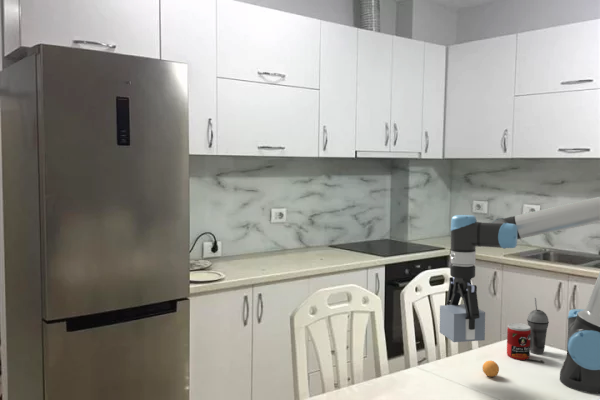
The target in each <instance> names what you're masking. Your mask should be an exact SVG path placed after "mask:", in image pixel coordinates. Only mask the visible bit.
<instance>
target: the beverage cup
mask: <svg viewBox="0 0 600 400" xmlns="http://www.w3.org/2000/svg"><path fill="white" fill-rule="evenodd" d="M537 305H538V304H537V298H536V297H534V307H535V308H534V309H533V310H531V311H530V312H529V314H528V315H527V319H526V321H527V325H528V326H530V327H531V335H530V354H534V355H544V352H545V347H546V339H547V334H548V333H547V331H548V327H549V322H550V321H549V317H548V314H547V313H546V312H545V311H544V310H541V309H538V306H537Z"/></svg>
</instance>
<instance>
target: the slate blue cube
mask: <svg viewBox="0 0 600 400" xmlns="http://www.w3.org/2000/svg"><path fill="white" fill-rule="evenodd" d="M479 316H480V317H479V318H476V319H475V339H473V340H466V339H465V334H466V319H465V318H466V317H467V314H466V309H465V305H464V303H463V304H460V303H459V304H458V305H447V304H443V305H439V333H440V334H441V335H443V336H444V337H446V338H447V339H448V340H450V341H451V342H453V343H462V342H463V343H464V342H465V343H466V342H477V341H478V342H479V341H486V339H485V338H486V312H485V311H484V310H481V309H480V308H479Z"/></svg>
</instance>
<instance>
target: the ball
mask: <svg viewBox="0 0 600 400" xmlns="http://www.w3.org/2000/svg"><path fill="white" fill-rule="evenodd" d="M499 371H500V368H499V365H498V363H496V362H495V361H494V360H486V361H484V363H483V364H482V372H483V373H484V375H485V376H487V377H489V378H492V377H496V376H497V375H498V374H499Z"/></svg>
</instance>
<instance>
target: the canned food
mask: <svg viewBox="0 0 600 400" xmlns="http://www.w3.org/2000/svg"><path fill="white" fill-rule="evenodd" d="M506 329H507V330H506V335H507V336H506V355H507V356H508V358H510V359H513V360H520V361H525V359H526V360H528V359H529V358H530V356H531V355H530V354H531V352H530V335H531V327H530V326H528V324H526V323H521V322H510V323H508V324H507V328H506Z"/></svg>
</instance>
